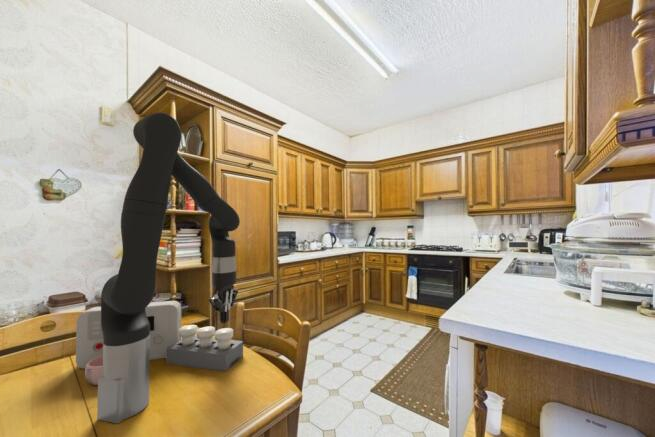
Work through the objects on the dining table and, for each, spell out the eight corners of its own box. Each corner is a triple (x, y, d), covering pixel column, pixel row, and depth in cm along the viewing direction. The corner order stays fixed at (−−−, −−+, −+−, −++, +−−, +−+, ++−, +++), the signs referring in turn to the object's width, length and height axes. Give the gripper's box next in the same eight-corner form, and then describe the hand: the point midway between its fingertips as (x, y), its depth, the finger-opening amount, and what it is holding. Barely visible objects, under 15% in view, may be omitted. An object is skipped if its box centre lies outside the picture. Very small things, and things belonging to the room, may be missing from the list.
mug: (103, 391, 71) (103, 369, 72) (75, 387, 73) (75, 365, 73) (142, 368, 83) (143, 349, 83) (117, 364, 85) (117, 346, 85)
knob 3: (226, 354, 83) (226, 335, 83) (211, 352, 85) (211, 333, 85) (236, 346, 89) (236, 328, 89) (221, 344, 90) (222, 327, 90)
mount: (225, 371, 81) (225, 355, 81) (166, 363, 86) (166, 347, 86) (243, 355, 90) (243, 341, 91) (188, 349, 95) (189, 335, 96)
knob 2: (207, 352, 85) (207, 333, 85) (192, 350, 86) (192, 332, 86) (218, 344, 90) (218, 327, 90) (204, 343, 92) (204, 325, 92)
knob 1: (189, 350, 86) (189, 331, 87) (174, 348, 88) (175, 330, 88) (200, 342, 92) (201, 325, 92) (187, 341, 93) (187, 324, 93)
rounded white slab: (70, 374, 80) (71, 314, 80) (85, 361, 87) (86, 307, 88) (175, 359, 88) (176, 305, 89) (180, 349, 96) (181, 299, 96)
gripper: (222, 274, 80) (222, 331, 80) (245, 267, 93) (245, 316, 93) (201, 273, 82) (201, 329, 81) (226, 266, 95) (226, 314, 94)
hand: (224, 322), depth 87 cm, fingers closed
